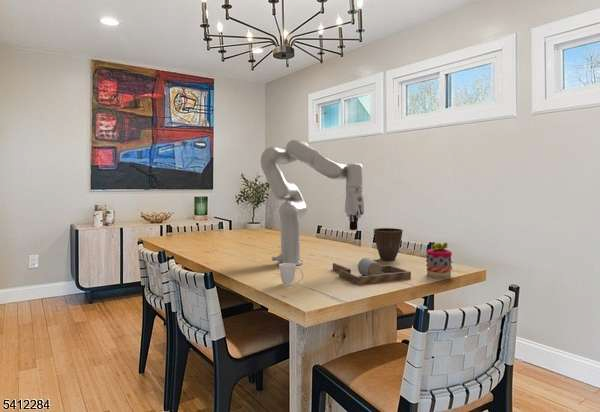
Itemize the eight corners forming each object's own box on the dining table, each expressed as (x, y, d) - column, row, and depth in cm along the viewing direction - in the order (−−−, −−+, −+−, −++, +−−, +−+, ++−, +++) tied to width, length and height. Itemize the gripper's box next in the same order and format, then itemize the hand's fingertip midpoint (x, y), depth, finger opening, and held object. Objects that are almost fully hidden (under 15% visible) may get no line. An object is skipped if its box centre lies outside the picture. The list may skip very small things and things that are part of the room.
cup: (281, 281, 162) (281, 262, 161) (305, 283, 159) (305, 263, 159) (276, 286, 155) (276, 265, 154) (301, 287, 152) (301, 267, 152)
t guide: (357, 285, 156) (357, 277, 156) (325, 270, 183) (325, 264, 183) (410, 278, 166) (410, 271, 166) (372, 265, 193) (372, 259, 193)
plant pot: (397, 263, 198) (397, 232, 197) (369, 260, 206) (369, 230, 205) (405, 258, 211) (406, 229, 210) (379, 256, 218) (379, 227, 218)
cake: (420, 274, 174) (421, 240, 173) (437, 271, 179) (438, 239, 178) (439, 279, 165) (440, 243, 164) (456, 276, 170) (457, 242, 169)
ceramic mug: (368, 279, 165) (368, 261, 164) (357, 275, 172) (357, 258, 172) (388, 277, 169) (389, 259, 169) (376, 273, 177) (377, 256, 176)
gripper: (369, 190, 177) (369, 231, 178) (352, 190, 190) (352, 227, 192) (355, 190, 174) (354, 232, 175) (339, 190, 188) (338, 228, 189)
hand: (353, 229), depth 183 cm, fingers closed
